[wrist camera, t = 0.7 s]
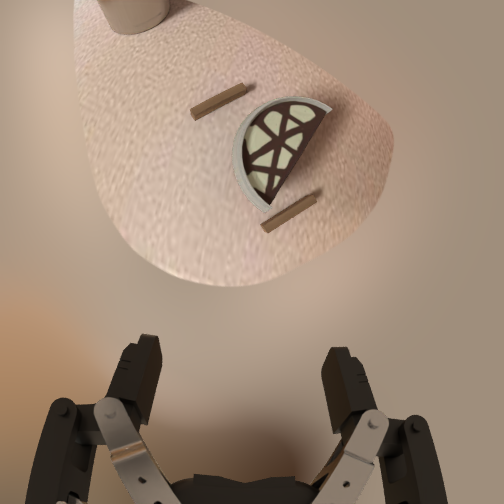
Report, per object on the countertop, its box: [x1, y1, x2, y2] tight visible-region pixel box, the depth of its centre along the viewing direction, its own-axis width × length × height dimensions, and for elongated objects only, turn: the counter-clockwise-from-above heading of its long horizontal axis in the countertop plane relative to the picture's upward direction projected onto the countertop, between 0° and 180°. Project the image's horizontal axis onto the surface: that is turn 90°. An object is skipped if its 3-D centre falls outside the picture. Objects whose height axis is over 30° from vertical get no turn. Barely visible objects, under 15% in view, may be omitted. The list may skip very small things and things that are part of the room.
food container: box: [232, 96, 332, 213], centre depth 27 cm, size 12×6×10 cm, turn 149°
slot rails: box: [190, 83, 317, 233], centre depth 31 cm, size 17×7×2 cm, turn 32°
